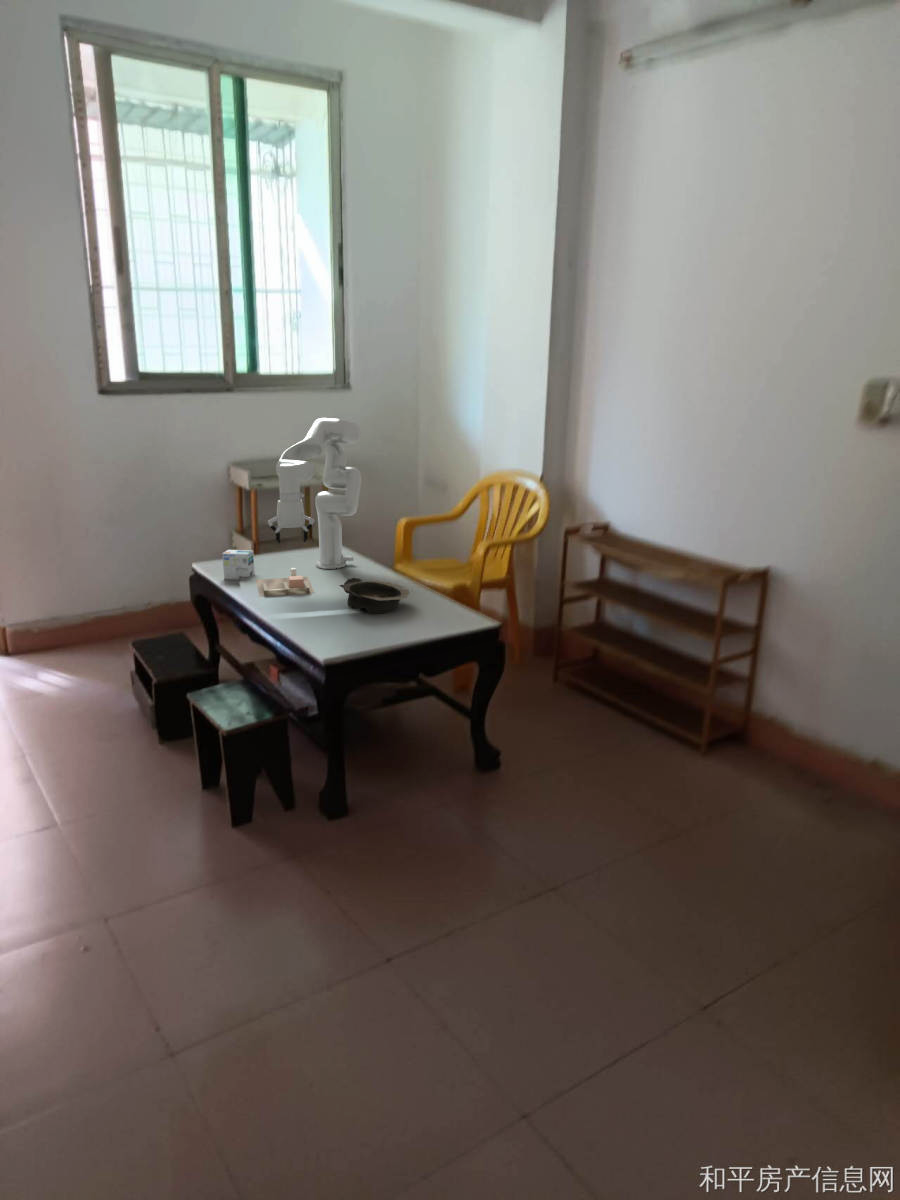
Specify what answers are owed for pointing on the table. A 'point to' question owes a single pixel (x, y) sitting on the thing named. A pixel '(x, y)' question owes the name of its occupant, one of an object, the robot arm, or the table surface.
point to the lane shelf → (281, 587)
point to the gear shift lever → (295, 580)
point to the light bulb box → (238, 563)
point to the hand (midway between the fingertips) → (291, 541)
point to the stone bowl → (373, 595)
